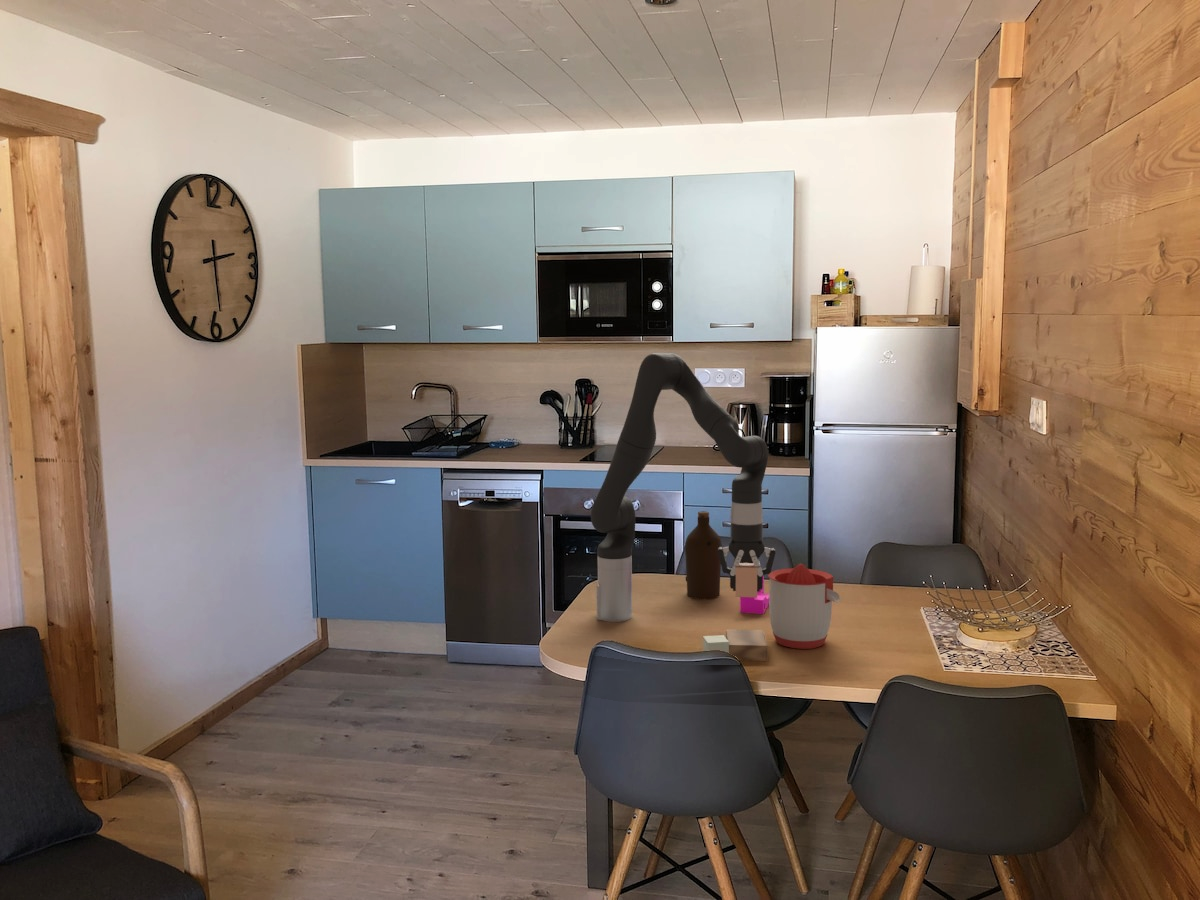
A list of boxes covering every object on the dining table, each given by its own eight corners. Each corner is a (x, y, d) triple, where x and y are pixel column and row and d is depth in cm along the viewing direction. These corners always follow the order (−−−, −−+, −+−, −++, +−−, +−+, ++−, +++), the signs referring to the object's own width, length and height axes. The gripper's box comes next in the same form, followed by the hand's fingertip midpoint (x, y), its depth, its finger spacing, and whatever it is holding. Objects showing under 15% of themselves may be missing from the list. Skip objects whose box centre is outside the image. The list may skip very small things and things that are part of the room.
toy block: (763, 616, 258) (763, 589, 257) (740, 614, 260) (740, 587, 259) (772, 601, 272) (772, 576, 271) (750, 599, 274) (750, 574, 273)
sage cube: (707, 663, 221) (707, 642, 220) (703, 656, 226) (703, 636, 225) (728, 662, 221) (728, 641, 221) (723, 655, 226) (723, 635, 226)
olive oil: (729, 596, 277) (729, 512, 274) (705, 603, 270) (705, 517, 267) (701, 589, 285) (701, 507, 282) (677, 596, 278) (677, 512, 275)
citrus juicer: (829, 658, 223) (830, 575, 221) (758, 647, 232) (759, 567, 229) (846, 639, 237) (848, 560, 234) (779, 629, 245) (780, 553, 243)
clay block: (735, 596, 225) (735, 567, 224) (735, 591, 229) (735, 562, 229) (757, 597, 224) (757, 568, 223) (756, 591, 229) (756, 563, 228)
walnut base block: (728, 661, 223) (728, 644, 222) (726, 645, 235) (726, 629, 234) (767, 662, 222) (767, 645, 222) (762, 645, 234) (763, 629, 233)
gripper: (715, 523, 222) (715, 594, 224) (778, 523, 220) (777, 595, 222) (716, 517, 229) (716, 585, 231) (776, 517, 227) (776, 587, 229)
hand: (746, 590), depth 227 cm, fingers closed on clay block, 5 cm apart
